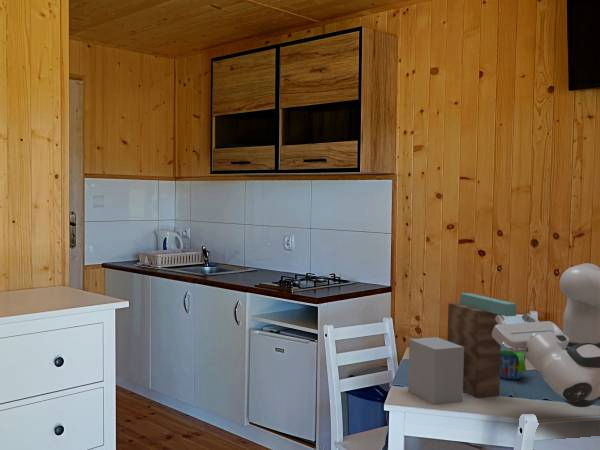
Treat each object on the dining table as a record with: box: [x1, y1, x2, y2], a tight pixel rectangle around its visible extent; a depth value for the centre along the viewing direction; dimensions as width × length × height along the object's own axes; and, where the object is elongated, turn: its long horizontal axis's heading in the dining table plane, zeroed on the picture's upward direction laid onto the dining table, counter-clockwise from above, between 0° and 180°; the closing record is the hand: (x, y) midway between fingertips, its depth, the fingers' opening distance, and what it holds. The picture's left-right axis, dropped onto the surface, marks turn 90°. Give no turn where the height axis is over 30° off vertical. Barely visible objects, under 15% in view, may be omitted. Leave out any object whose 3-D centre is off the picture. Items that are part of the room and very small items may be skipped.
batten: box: [459, 292, 517, 317], centre depth 191 cm, size 22×4×4 cm, turn 21°
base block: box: [407, 336, 464, 405], centre depth 190 cm, size 14×10×16 cm
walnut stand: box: [446, 302, 501, 399], centre depth 197 cm, size 16×8×26 cm, turn 21°
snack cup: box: [500, 346, 527, 381], centre depth 212 cm, size 16×10×10 cm
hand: (511, 316), depth 180 cm, fingers open, 8 cm apart
